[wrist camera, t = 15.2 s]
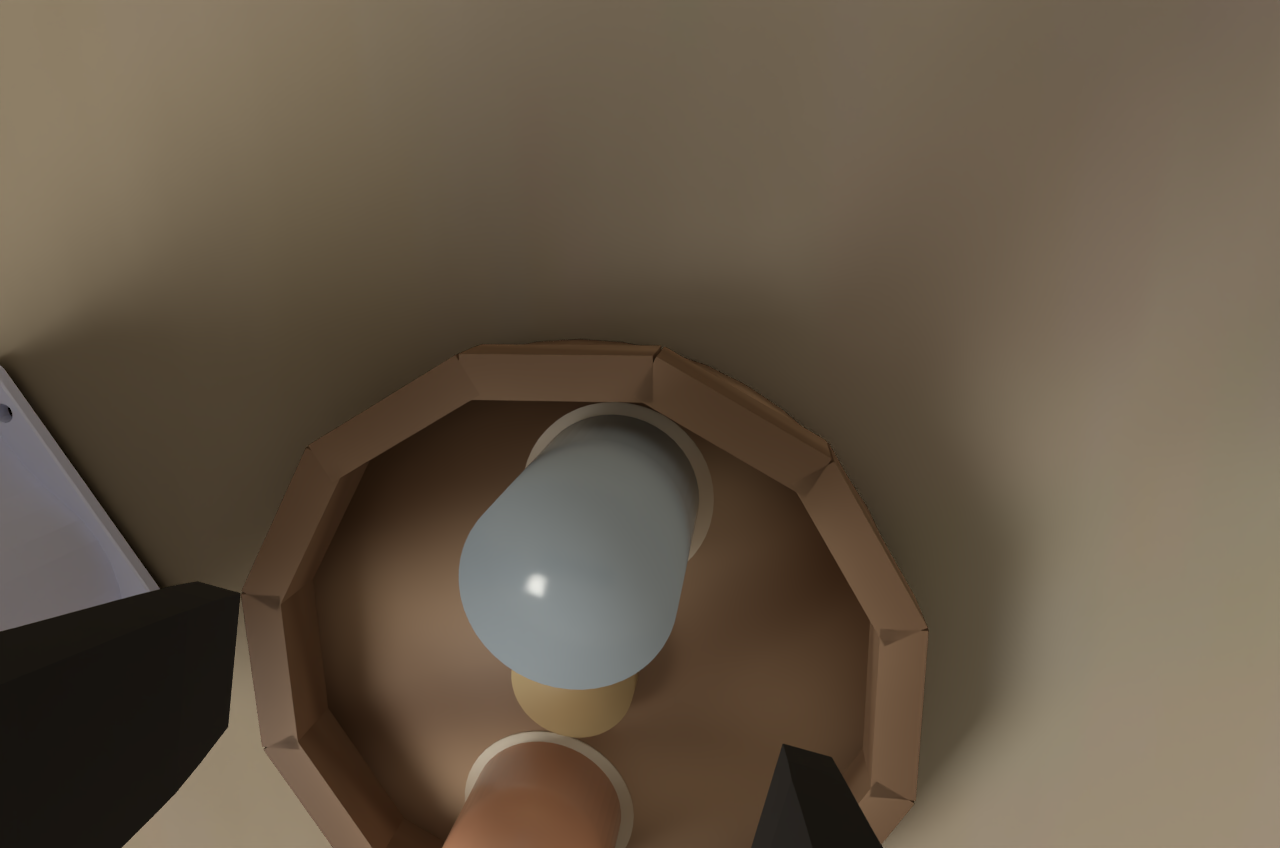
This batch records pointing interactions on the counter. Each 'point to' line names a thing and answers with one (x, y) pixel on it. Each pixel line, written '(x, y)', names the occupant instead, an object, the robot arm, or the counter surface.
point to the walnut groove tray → (579, 719)
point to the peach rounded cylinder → (539, 802)
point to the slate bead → (584, 555)
